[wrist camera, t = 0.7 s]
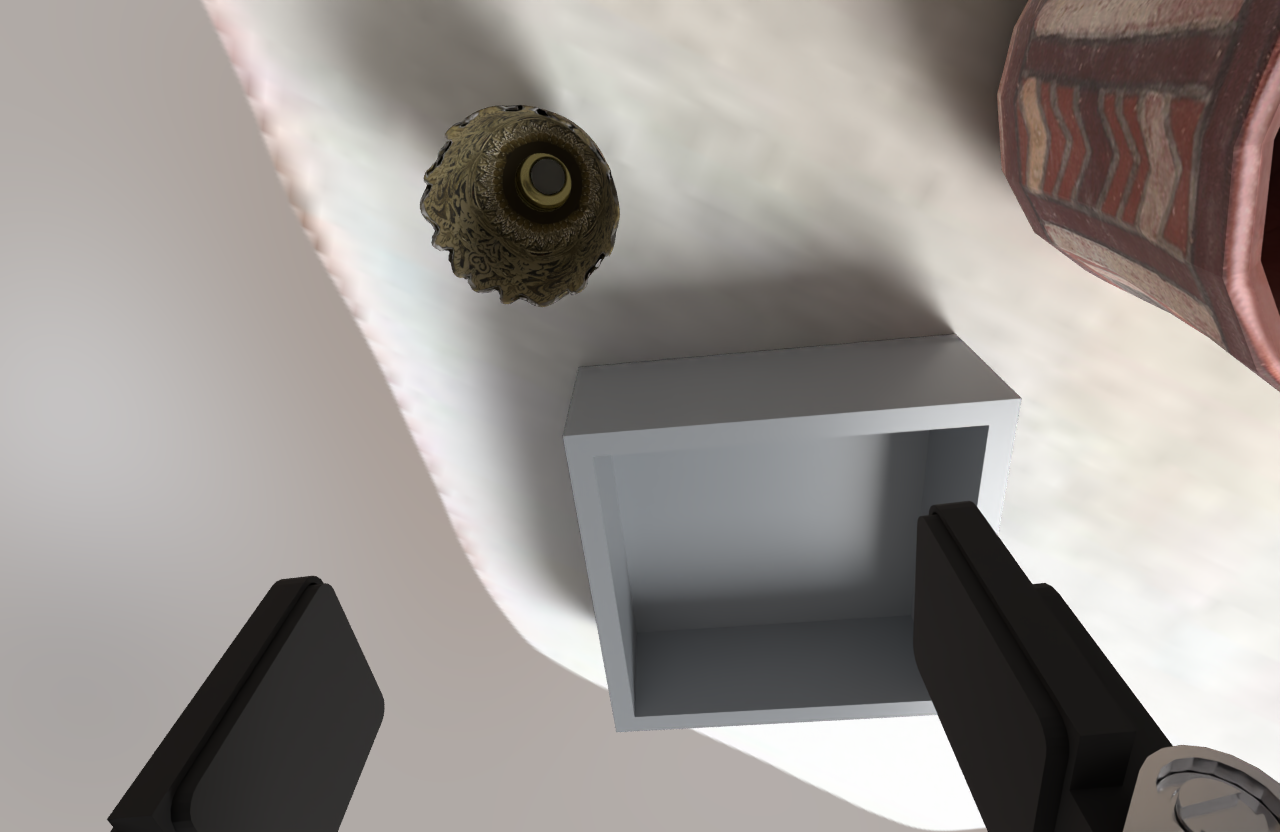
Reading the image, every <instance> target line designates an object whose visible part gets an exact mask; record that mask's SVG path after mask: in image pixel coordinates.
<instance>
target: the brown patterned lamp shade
mask: <svg viewBox="0 0 1280 832" xmlns="http://www.w3.org/2000/svg"><path fill="white" fill-rule="evenodd" d="M445 137H446V138H447V139H448V140H447V142H446V143H445V145H444V146H443V148H442V149H441V150H440V151H439V152H438V158H437V160H436V162H435V163H434V164H433V165H432V166H431V167H430V168H429V169H428V170H427V171H426V173H425V176H424V182H425V183H426V184H427V187H426V189H425V191H424V193H423V196H422V198H421V201H420V209H421V213H422V215H423V217H424V218H425V219H426V220H427V221H428V222H429V223H431V225H432V226H433V228H434V230H435V232H434V235H433V236H432V246H433V247H435V248H436V249H438V250H439V251H443V250H446V251H447V250H448V251H449V252H450V253H449V261H450V263H451V266H452V270H453V273H454V274H455V275H456V276H457V277H459V278H465V279H468V283H469V285H470V286H471V288H472V289H473V290H474V291H475V292H478V293H489V292H492V291H495V290H498V291H499V294H500V300H501V303H503V304H511V303H513V302H514V301H516V300H517V299H522V300H526V301H527V302H529V303H530V304H531V305H534V306H538V307H546V306H549V305H551V304H553V303H555V302H557V301H558V300H560V299H561V298H563V297H564V296H565V295H567V294H569V293H570V294H571V295H574V294H577V293H579V292H581V291H582V290H583V289H584V288H585V287H586V286H587V280H588V278H589V276H590V275H591V274H592V272H593V271H594V270H595V269H597V268H598V267H599V266H600V264H601V262H602V260H603V259H604V257H607V256H610V254H611V252H612V250H613V247H614V243H615V237H616V230H617V228H618V224H619V217H620V209H619V202H618V196H617V191H616V188H615V185H614V181H613V178H612V175H611V170H610V168H609V166H608V164H607V162H606V160H605V158H604V156H603V155H602V153H601V151H600V149H599V148H598V146H597V145H596V144H595V142H594V141H593V140H592V139H591V138H590V136H589V135H588V134H587V133H586V132H585V131H584V130H582V129H581V128H580V127H579V126H577V125H576V124H575V123H573V122H572V121H570V120H568V119H567V118H565V117H563V116H561V115H558V114H556V113H553V112H550V111H547V110H543V109H539V108H538V107H533V106H525V105H517V106H492V107H488V108H484V109H481V110H479V111H477V112H475V113H473V114H471V115H470V116H468V117H467V118H465V119H464V120H463V121H462V122H460V123H457V124H455V125H453V126H452V127H451V128H450V129H449V130H448V131H447V132H446V133H445ZM542 159H552V160H554V161H556V162H557V163H559V164H560V165H561V167H562V168H563V170H564V173H565V182H564V185H563V187H562V188H561V190H560V191H558V192H557V193H555V194H551V195H548V194H543V193H541V192H539V191H538V190H537V189H536V188H535V187H534V185H533V184H532V181H531V170H532V168H533V166H534V165H535V163H536V162H538V161H539V160H542Z"/></svg>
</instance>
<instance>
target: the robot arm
mask: <svg viewBox="0 0 1280 832" xmlns="http://www.w3.org/2000/svg"><path fill="white" fill-rule="evenodd" d="M913 650H914V656H915V661H916V664H917V667H918V670H919V672H920V675H921V677H922V679H923V682H924V684H925V686H926V689H927V691H928V693H929V696H930V698H931V700H932V703H933V705H934V707H935V710H936V712H937V714H938V717H939V719H940V721H941V724H942V726H943V728H944V731H945V733H946V735H947V738H948V740H949V742H950V745H951V747H952V749H953V752H954V754H955V756H956V759H957V761H958V763H959V766H960V768H961V770H962V773H963V775H964V777H965V780H966V782H967V784H968V787H969V789H970V791H971V793H972V796H973V798H974V800H975V803H976V805H977V807H978V810H979V812H980V814H981V817H982V819H983V821H984V824H985V826H986V828H987V831H988V832H1280V783H1278V782H1277V781H1275V780H1274V779H1273V778H1271V777H1270V776H1268V775H1267V774H1266V773H1264V772H1263V771H1261V770H1260V769H1259V768H1257V767H1255V766H1253V765H1251V764H1249V763H1247V762H1245V761H1243V760H1241V759H1239V758H1237V757H1235V756H1233V755H1230V754H1227V753H1223V752H1220V751H1217V750H1213V749H1210V748H1207V747H1198V746H1188V745H1178V746H1172V744H1171V743H1170V742H1169V740H1168V739H1167V738H1166V736H1165V735H1164V734H1163V732H1162V731H1161V730H1160V728H1159V727H1158V725H1157V724H1156V723H1155V721H1154V720H1153V719H1152V717H1151V716H1150V715H1149V713H1148V712H1147V711H1146V709H1145V708H1144V707H1143V705H1142V704H1141V703H1140V701H1139V700H1138V699H1137V697H1136V696H1135V695H1134V693H1133V692H1132V691H1131V689H1130V688H1129V687H1128V685H1127V684H1126V683H1125V681H1124V680H1123V679H1122V677H1121V676H1120V675H1119V673H1118V672H1117V671H1116V669H1115V668H1114V667H1113V665H1112V664H1111V663H1110V661H1109V660H1108V659H1107V657H1106V656H1105V655H1104V653H1103V652H1102V651H1101V649H1100V648H1099V647H1098V645H1097V644H1096V643H1095V641H1094V640H1093V639H1092V637H1091V636H1090V634H1089V633H1088V632H1087V630H1086V629H1085V628H1084V626H1083V625H1082V624H1081V622H1080V621H1079V620H1078V618H1077V617H1076V616H1075V614H1074V613H1073V612H1072V610H1071V609H1070V608H1069V606H1068V605H1067V604H1066V602H1065V601H1064V600H1063V598H1062V597H1061V596H1060V594H1059V593H1058V592H1057V591H1056V590H1055V589H1054V588H1053V587H1052V586H1050V585H1048V584H1046V583H1040V584H1032V583H1031V582H1030V580H1029V579H1028V577H1027V576H1026V575H1025V573H1024V572H1023V570H1022V569H1021V568H1020V566H1019V565H1018V563H1017V562H1016V561H1015V559H1014V558H1013V556H1012V555H1011V554H1010V552H1009V551H1008V549H1007V548H1006V547H1005V545H1004V544H1003V542H1002V541H1001V539H1000V538H999V537H998V535H997V534H996V532H995V531H994V530H993V528H992V527H991V525H990V524H989V523H988V521H987V520H986V518H985V517H984V516H983V514H982V513H981V511H980V510H979V509H978V507H977V506H976V505H975V504H974V503H973V502H972V501H962V502H953V503H945V504H936V505H932V506H931V507H930V509H929V515H925V516H920V517H919V518H918V522H917V544H916V572H915V600H914V629H913ZM383 716H384V699H383V696H382V693H381V691H380V689H379V687H378V685H377V682H376V680H375V678H374V676H373V674H372V672H371V669H370V667H369V665H368V663H367V661H366V659H365V656H364V655H363V652H362V650H361V648H360V646H359V643H358V642H357V639H356V637H355V635H354V633H353V630H352V629H351V626H350V624H349V622H348V620H347V617H346V615H345V613H344V611H343V609H342V607H341V605H340V602H339V600H338V598H337V596H336V594H335V591H334V589H333V588H332V586H331V585H329V584H324V583H323V582H322V580H321V579H319V578H318V577H317V576H307V577H298V578H289V579H281V580H279V581H277V582H276V583H275V584H274V585H273V586H272V587H271V589H270V590H269V591H268V593H267V594H266V596H265V597H264V598H263V600H262V601H261V603H260V604H259V606H258V607H257V608H256V610H255V611H254V613H253V614H252V615H251V617H250V618H249V620H248V621H247V623H246V624H245V625H244V627H243V628H242V629H241V631H240V632H239V634H238V635H237V637H236V638H235V640H234V641H233V642H232V644H231V645H230V646H229V648H228V649H227V651H226V652H225V653H224V655H223V656H222V658H221V659H220V660H219V662H218V663H217V665H216V666H215V668H214V669H213V671H212V672H211V673H210V675H209V676H208V677H207V679H206V680H205V682H204V683H203V685H202V686H201V687H200V689H199V690H198V692H197V693H196V694H195V696H194V698H193V699H192V700H191V702H190V703H189V704H188V706H187V707H186V709H185V710H184V711H183V713H182V714H181V716H180V717H179V718H178V720H177V721H176V723H175V724H174V725H173V727H172V728H171V730H170V731H169V733H168V734H167V735H166V737H165V738H164V740H163V741H162V742H161V744H160V745H159V747H158V748H157V749H156V751H155V752H154V754H153V755H152V757H151V758H150V759H149V761H148V762H147V764H146V765H145V766H144V768H143V769H142V771H141V772H140V774H139V775H138V776H137V778H136V779H135V781H134V782H133V783H132V785H131V786H130V788H129V789H128V790H127V792H126V793H125V795H124V796H123V797H122V799H121V800H120V802H119V803H118V805H117V806H116V807H115V809H114V810H113V812H112V813H111V814H110V816H109V817H108V819H107V820H108V821H109V822H110V824H111V825H112V826H113V829H112V830H111V832H338V830H339V827H340V825H341V822H342V819H343V817H344V815H345V812H346V810H347V807H348V805H349V802H350V800H351V797H352V795H353V792H354V790H355V787H356V785H357V782H358V780H359V777H360V775H361V772H362V770H363V767H364V765H365V762H366V760H367V757H368V755H369V752H370V750H371V747H372V745H373V742H374V740H375V737H376V735H377V732H378V730H379V728H380V725H381V722H382V719H383Z"/></svg>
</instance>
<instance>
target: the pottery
mask: <svg viewBox="0 0 1280 832" xmlns="http://www.w3.org/2000/svg"><path fill="white" fill-rule="evenodd" d="M997 101H998V117H999V134H1000V150H1001V166H1002V171H1003V173H1004V175H1005V177H1006V179H1007V181H1008V182H1009V184H1010V186H1011V188H1012V190H1013V192H1014V194H1015V196H1016V198H1017V200H1018V202H1019V204H1020V206H1021V208H1022V210H1023V212H1024V214H1025V215H1026V217H1027V219H1028V221H1029V223H1030V225H1031V227H1032V229H1033V231H1034V232H1035V233H1036V234H1037V235H1039V236H1040V237H1041V238H1043V239H1044V240H1045V241H1047V242H1048V243H1049V244H1051V245H1052V246H1054V247H1055V248H1056V249H1058V250H1059V251H1060V252H1062V253H1063V254H1064V255H1066V256H1067V257H1068V258H1070V259H1071V260H1072V261H1074V262H1075V263H1076V264H1078V265H1079V266H1080V267H1082V268H1083V269H1084V270H1086V271H1088V272H1089V273H1091V274H1093V275H1095V276H1097V277H1099V278H1100V279H1102V280H1104V281H1106V282H1108V283H1110V284H1112V285H1114V286H1116V287H1118V288H1120V289H1122V290H1124V291H1126V292H1128V293H1130V294H1132V295H1134V296H1136V297H1138V298H1140V299H1142V300H1144V301H1146V302H1148V303H1150V304H1153V305H1155V306H1157V307H1159V308H1161V309H1163V310H1165V311H1167V312H1169V313H1171V314H1172V315H1174V316H1175V317H1177V318H1179V319H1180V320H1182V321H1183V322H1185V323H1187V324H1188V325H1190V326H1191V327H1193V328H1195V329H1196V330H1198V331H1199V332H1201V333H1202V334H1204V335H1206V336H1207V337H1209V338H1210V339H1211V340H1213V341H1214V342H1215V343H1217V344H1218V345H1219V346H1220V347H1222V348H1223V349H1224V350H1226V351H1227V352H1228V353H1229V354H1231V355H1232V356H1233V357H1235V358H1236V359H1237V360H1239V361H1240V362H1241V363H1243V364H1244V365H1245V366H1246V367H1248V368H1249V369H1250V370H1252V371H1253V372H1254V373H1256V374H1257V375H1258V376H1260V377H1261V378H1262V379H1264V380H1265V381H1266V382H1267V383H1269V384H1270V385H1271V386H1273V387H1274V388H1275V389H1277V390H1278V391H1279V392H1280V0H1028V2H1027V4H1026V6H1025V8H1024V9H1023V11H1022V13H1021V15H1020V17H1019V19H1018V21H1017V23H1016V24H1015V26H1014V29H1013V33H1012V37H1011V41H1010V45H1009V49H1008V53H1007V57H1006V61H1005V65H1004V69H1003V73H1002V77H1001V81H1000V85H999V89H998V93H997Z"/></svg>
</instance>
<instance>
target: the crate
mask: <svg viewBox="0 0 1280 832" xmlns="http://www.w3.org/2000/svg"><path fill="white" fill-rule="evenodd" d="M1021 399H1022V398H1021V397H1020V396H1019V395H1018V394H1017V393H1016V392H1015V391H1014V390H1012V389H1011V388H1010V387H1009V386H1008V385H1007V384H1006V383H1005V382H1004V381H1003V380H1002V379H1001V378H1000V377H999V376H998V375H997V374H996V373H995V372H994V371H993V370H992V369H991V368H990V367H989V366H988V365H987V364H986V363H985V362H984V361H983V360H982V359H981V358H980V357H979V356H978V355H977V354H976V353H975V352H974V351H973V350H972V349H971V348H970V347H969V346H968V345H967V344H966V343H964V342H963V341H962V340H961V339H960V338H959V337H958V336H957V335H956V334H948V335H937V336H925V337H914V338H903V339H892V340H880V341H869V342H858V343H847V344H835V345H824V346H813V347H802V348H790V349H779V350H768V351H757V352H745V353H734V354H723V355H712V356H700V357H689V358H678V359H667V360H655V361H644V362H633V363H621V364H610V365H599V366H588V367H579V368H578V372H577V377H576V381H575V385H574V390H573V394H572V398H571V403H570V407H569V411H568V416H567V420H566V424H565V429H564V433H563V441H564V446H565V452H566V457H567V463H568V468H569V474H570V479H571V485H572V490H573V496H574V501H575V507H576V512H577V518H578V523H579V529H580V534H581V540H582V545H583V551H584V556H585V562H586V568H587V573H588V579H589V584H590V590H591V595H592V601H593V606H594V612H595V617H596V623H597V628H598V634H599V639H600V645H601V650H602V656H603V661H604V667H605V672H606V678H607V683H608V689H609V695H610V700H611V706H612V711H613V716H614V722H615V728H616V732H628V731H647V730H665V729H683V728H702V727H721V726H739V725H758V724H776V723H795V722H813V721H832V720H850V719H869V718H887V717H906V716H925V715H938V714H937V712H936V710H935V707H934V705H933V703H932V700H931V698H930V696H929V693H928V691H927V689H926V686H925V684H924V682H923V679H922V677H921V675H920V672H919V670H918V667H917V664H916V661H915V656H914V650H913V629H914V600H915V572H916V544H917V522H918V518H919V517H920V516H925V515H929V509H930V507H931V506H932V505H936V504H945V503H953V502H962V501H972V502H973V503H974V504H975V505H976V506H977V507H978V509H979V510H980V511H981V513H982V514H983V516H984V517H985V518H986V520H987V521H988V523H989V524H990V525H991V527H992V528H993V530H994V531H995V532H996V534H997V535H998V534H999V528H1000V522H1001V516H1002V510H1003V504H1004V499H1005V493H1006V487H1007V481H1008V475H1009V469H1010V464H1011V458H1012V452H1013V446H1014V440H1015V434H1016V428H1017V423H1018V417H1019V411H1020V405H1021Z"/></svg>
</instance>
